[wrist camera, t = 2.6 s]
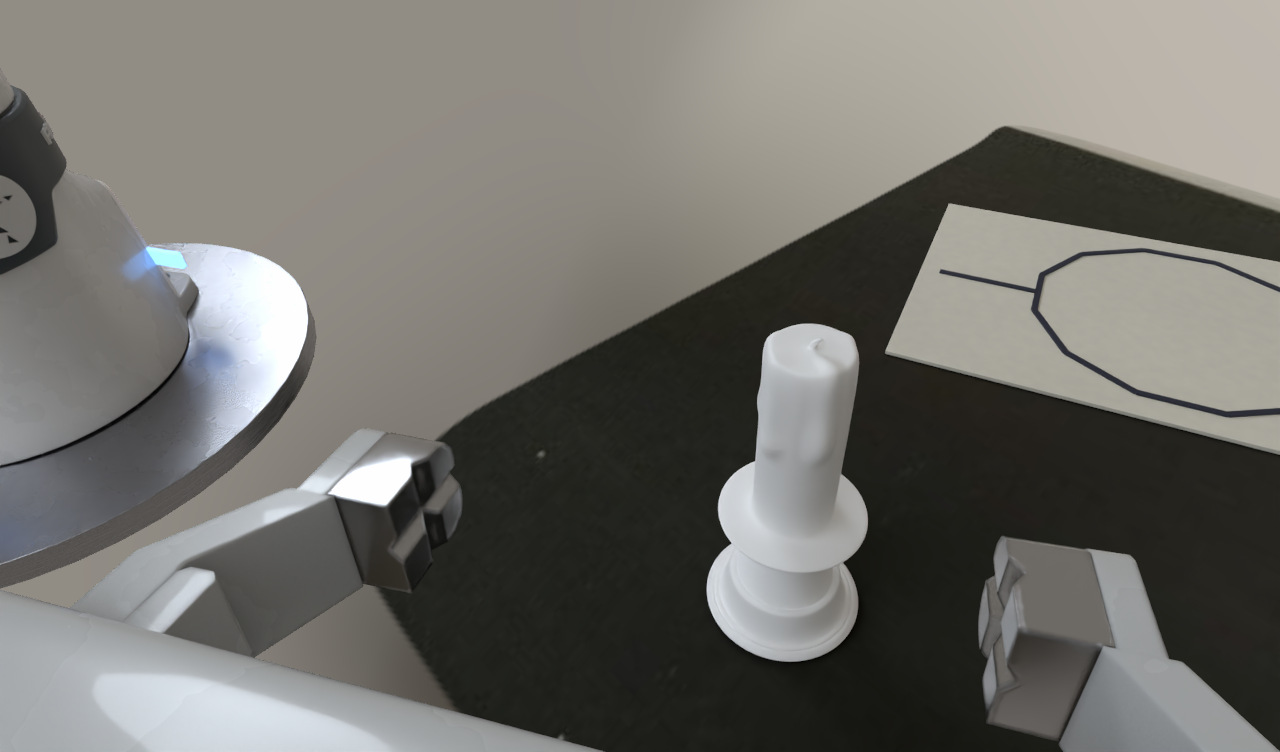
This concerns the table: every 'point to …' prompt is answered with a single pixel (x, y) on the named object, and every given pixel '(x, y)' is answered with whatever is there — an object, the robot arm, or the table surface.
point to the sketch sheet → (1102, 322)
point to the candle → (793, 505)
